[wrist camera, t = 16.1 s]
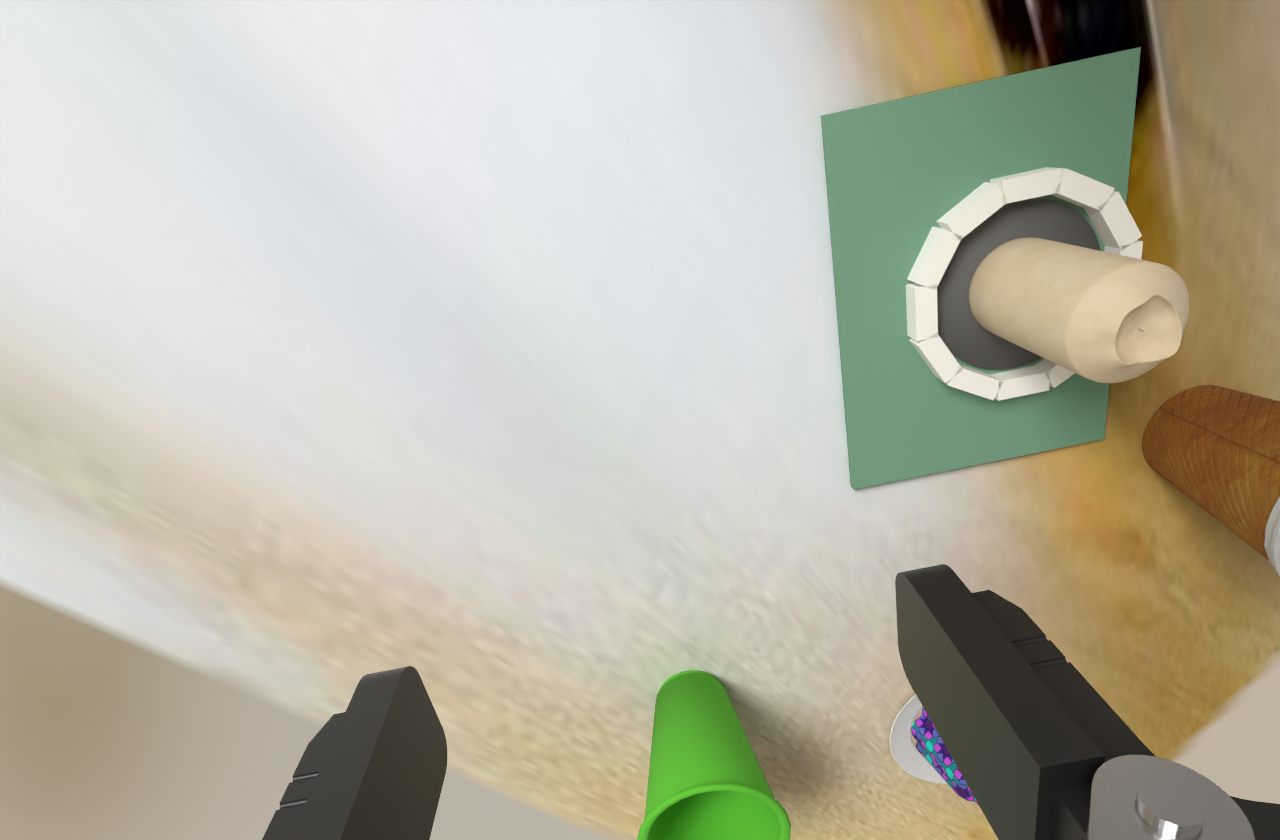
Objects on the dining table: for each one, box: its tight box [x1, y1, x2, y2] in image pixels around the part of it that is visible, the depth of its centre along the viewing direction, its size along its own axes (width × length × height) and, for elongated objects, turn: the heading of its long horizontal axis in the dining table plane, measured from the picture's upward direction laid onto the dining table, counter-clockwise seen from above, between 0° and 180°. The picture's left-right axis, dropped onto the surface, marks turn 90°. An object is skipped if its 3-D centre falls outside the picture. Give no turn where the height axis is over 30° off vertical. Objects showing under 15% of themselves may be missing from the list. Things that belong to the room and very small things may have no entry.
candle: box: [968, 237, 1190, 383], centre depth 32 cm, size 6×6×10 cm
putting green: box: [821, 47, 1143, 490], centre depth 37 cm, size 22×16×2 cm
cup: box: [637, 671, 791, 840], centre depth 43 cm, size 9×9×11 cm
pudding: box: [889, 694, 978, 804], centre depth 49 cm, size 12×12×5 cm
